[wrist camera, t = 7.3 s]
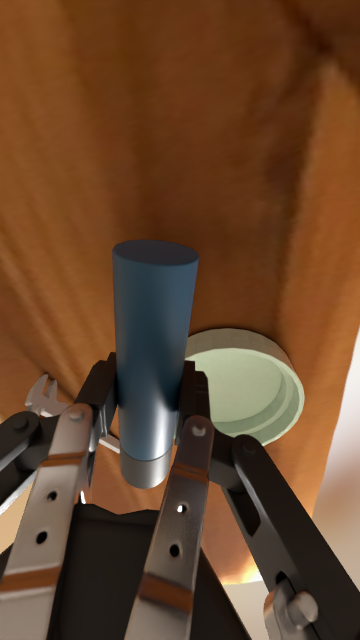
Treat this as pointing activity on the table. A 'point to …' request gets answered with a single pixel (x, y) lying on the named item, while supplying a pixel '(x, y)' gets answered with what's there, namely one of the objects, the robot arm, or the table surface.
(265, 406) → the bowl
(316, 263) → the table surface
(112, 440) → the caliper
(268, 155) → the table surface
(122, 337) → the marker
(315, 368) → the table surface
